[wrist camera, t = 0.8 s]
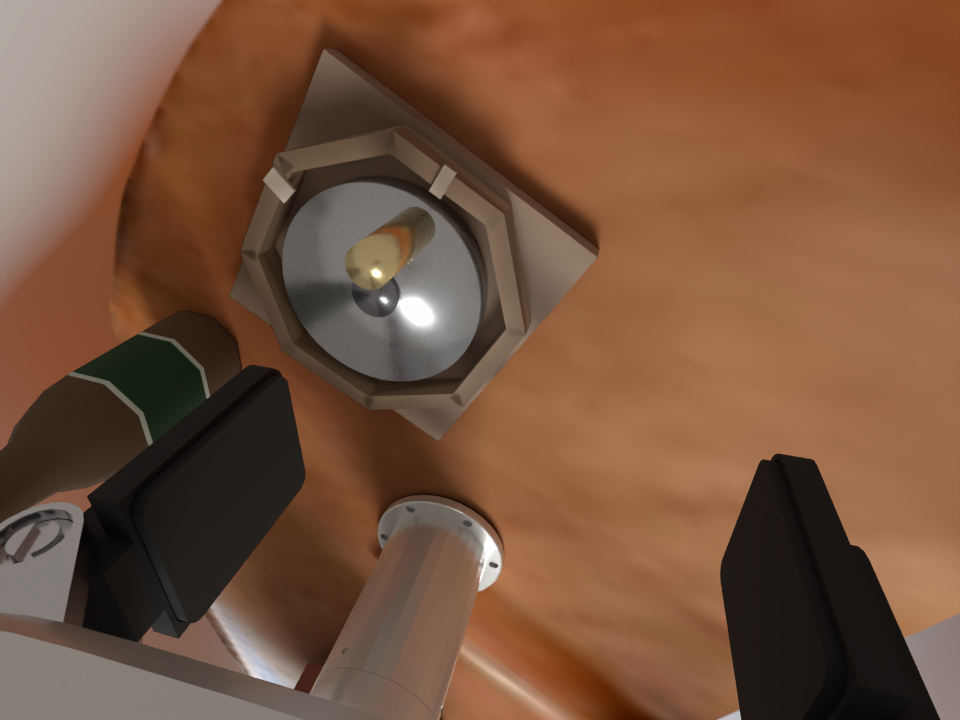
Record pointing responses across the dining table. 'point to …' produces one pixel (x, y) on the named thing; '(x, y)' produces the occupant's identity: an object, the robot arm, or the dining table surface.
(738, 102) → the dining table surface
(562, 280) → the dial housing
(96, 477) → the beer bottle
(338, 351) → the dial
